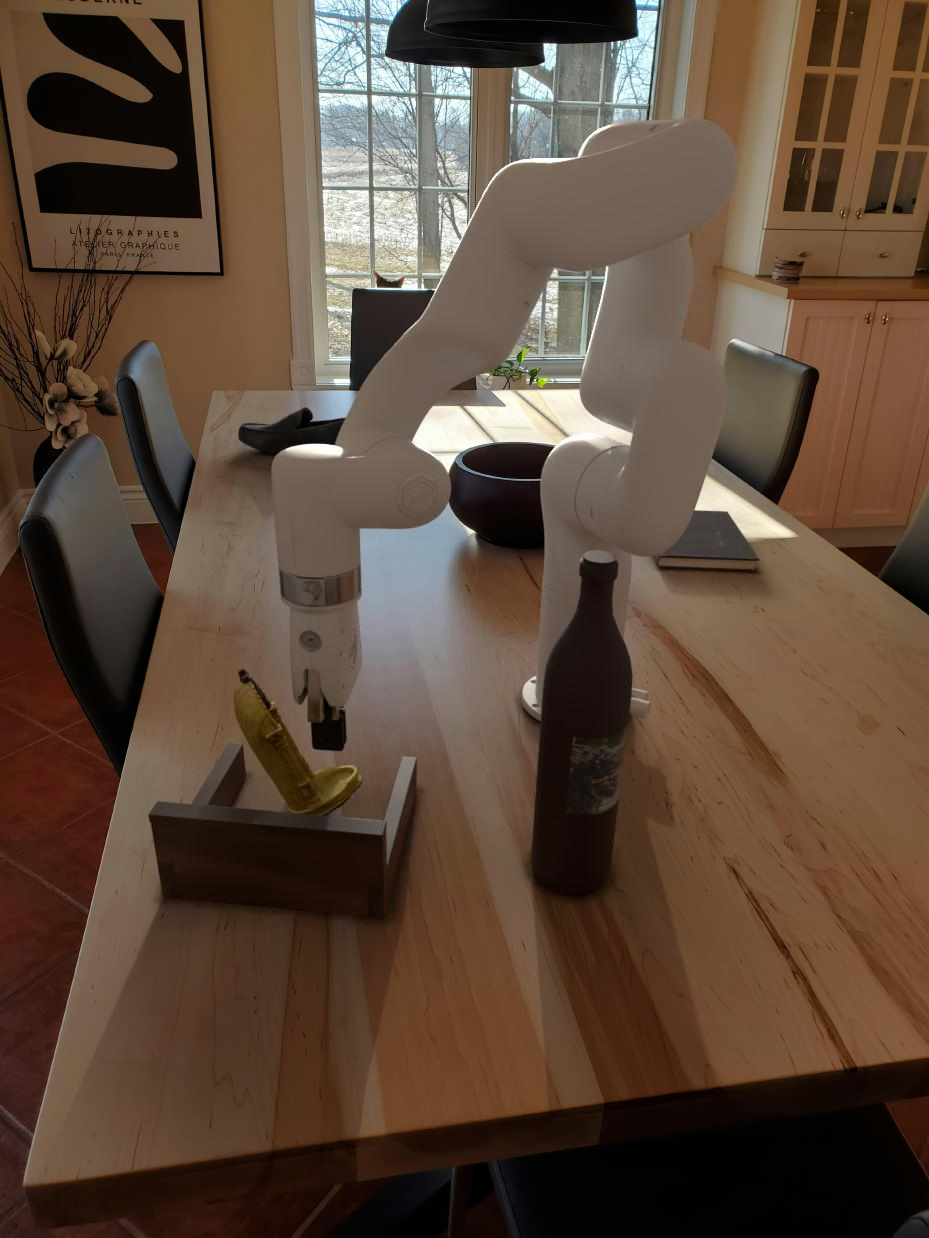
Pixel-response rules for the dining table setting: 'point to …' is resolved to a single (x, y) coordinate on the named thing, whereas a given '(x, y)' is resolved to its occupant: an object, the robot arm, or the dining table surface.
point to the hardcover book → (710, 546)
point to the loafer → (290, 432)
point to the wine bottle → (582, 739)
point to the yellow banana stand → (289, 755)
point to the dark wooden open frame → (279, 848)
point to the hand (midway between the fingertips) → (329, 745)
